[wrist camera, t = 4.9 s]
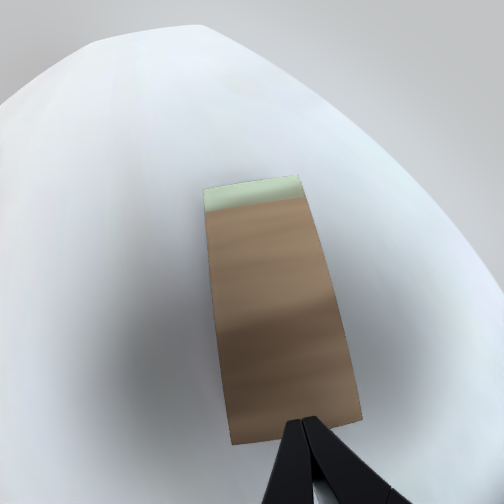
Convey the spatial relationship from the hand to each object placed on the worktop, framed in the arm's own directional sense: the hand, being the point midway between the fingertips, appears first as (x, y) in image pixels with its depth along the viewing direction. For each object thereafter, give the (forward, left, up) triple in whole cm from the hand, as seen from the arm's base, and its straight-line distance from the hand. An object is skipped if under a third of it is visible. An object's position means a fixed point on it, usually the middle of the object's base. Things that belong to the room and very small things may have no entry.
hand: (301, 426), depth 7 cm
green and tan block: (-1, 0, -5) cm, 5 cm away
